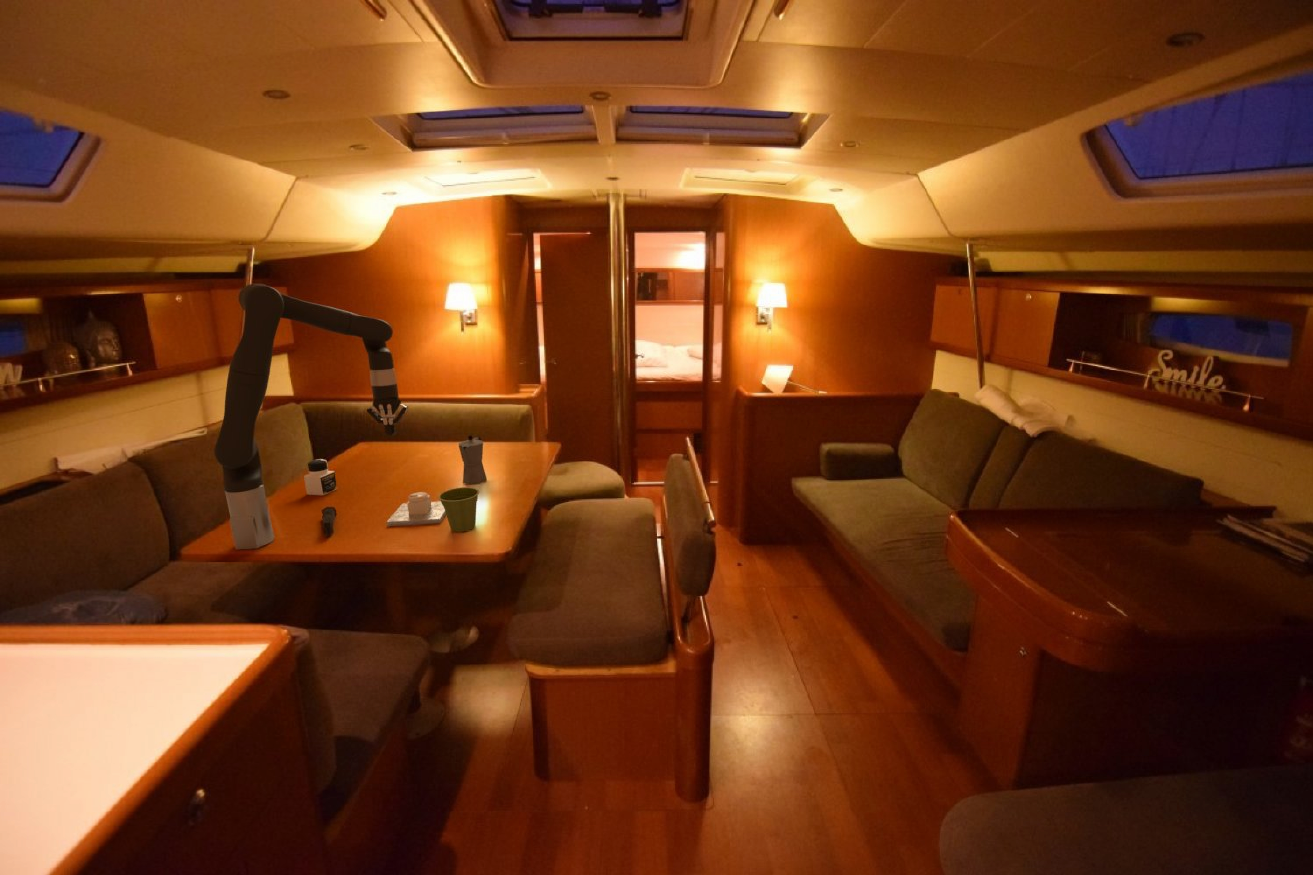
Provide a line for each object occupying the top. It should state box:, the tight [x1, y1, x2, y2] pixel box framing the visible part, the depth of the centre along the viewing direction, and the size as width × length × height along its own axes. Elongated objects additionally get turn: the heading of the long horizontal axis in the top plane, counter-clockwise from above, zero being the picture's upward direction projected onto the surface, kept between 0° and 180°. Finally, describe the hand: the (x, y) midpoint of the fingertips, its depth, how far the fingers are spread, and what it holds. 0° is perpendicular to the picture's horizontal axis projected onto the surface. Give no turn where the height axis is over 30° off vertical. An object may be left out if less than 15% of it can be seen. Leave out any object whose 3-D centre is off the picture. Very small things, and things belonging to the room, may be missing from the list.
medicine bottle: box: [303, 458, 338, 496], centre depth 215 cm, size 7×7×12 cm
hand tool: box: [321, 506, 338, 538], centre depth 183 cm, size 19×4×5 cm, turn 25°
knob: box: [406, 491, 432, 515], centre depth 191 cm, size 6×6×5 cm
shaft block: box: [386, 500, 446, 527], centre depth 192 cm, size 16×16×5 cm
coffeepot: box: [458, 434, 487, 486], centre depth 224 cm, size 15×9×18 cm, turn 174°
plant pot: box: [438, 486, 480, 533], centre depth 180 cm, size 12×12×11 cm
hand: (391, 435), depth 194 cm, fingers closed
